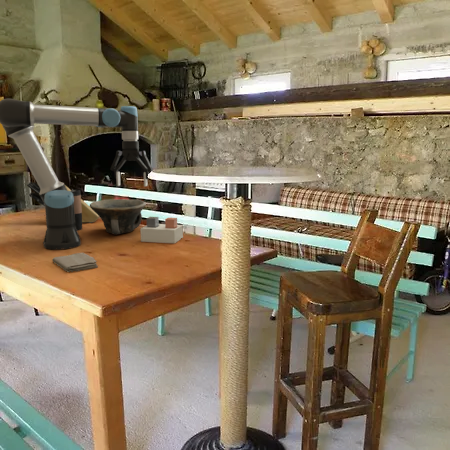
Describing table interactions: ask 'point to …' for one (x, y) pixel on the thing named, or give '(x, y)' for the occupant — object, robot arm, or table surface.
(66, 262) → the washcloth
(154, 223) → the grey metal cube
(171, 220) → the pink cube
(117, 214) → the bowl
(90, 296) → the table surface
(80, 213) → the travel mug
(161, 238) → the block
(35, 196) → the knife block
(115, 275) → the table surface
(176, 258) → the table surface
